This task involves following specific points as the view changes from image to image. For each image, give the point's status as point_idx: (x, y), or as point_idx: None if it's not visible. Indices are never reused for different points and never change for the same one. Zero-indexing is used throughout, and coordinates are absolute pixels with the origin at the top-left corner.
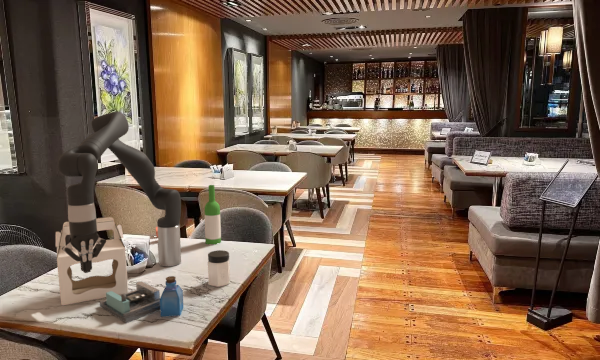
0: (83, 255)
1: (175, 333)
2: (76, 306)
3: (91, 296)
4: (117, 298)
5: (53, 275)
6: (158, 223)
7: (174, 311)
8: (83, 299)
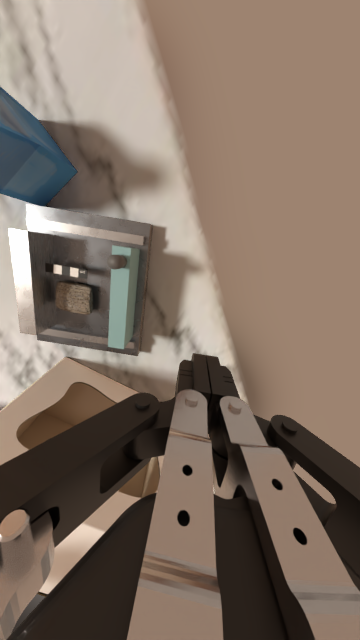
0: (253, 443)
1: (106, 22)
2: (167, 389)
3: (131, 394)
4: (124, 291)
5: None
6: None
7: (39, 126)
8: None
